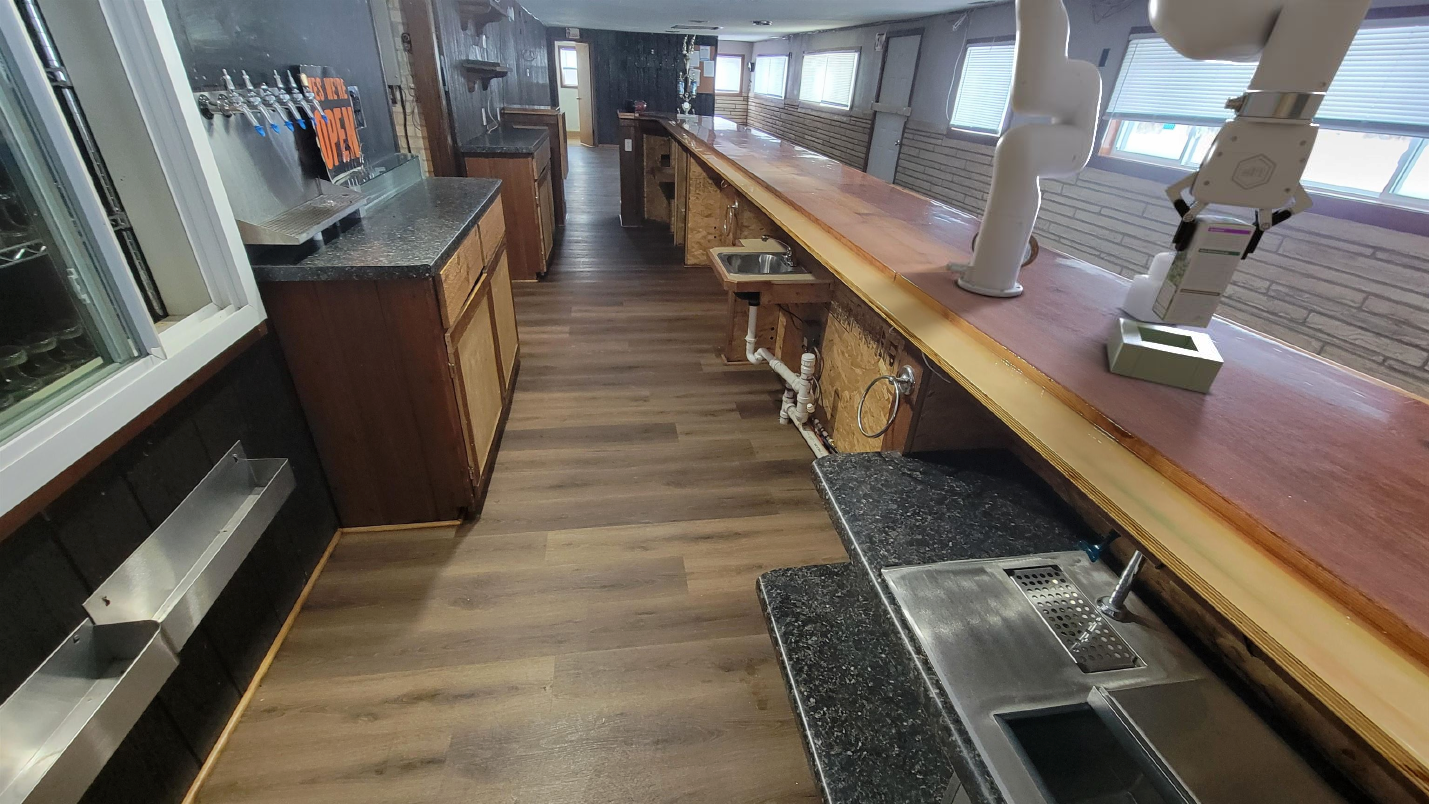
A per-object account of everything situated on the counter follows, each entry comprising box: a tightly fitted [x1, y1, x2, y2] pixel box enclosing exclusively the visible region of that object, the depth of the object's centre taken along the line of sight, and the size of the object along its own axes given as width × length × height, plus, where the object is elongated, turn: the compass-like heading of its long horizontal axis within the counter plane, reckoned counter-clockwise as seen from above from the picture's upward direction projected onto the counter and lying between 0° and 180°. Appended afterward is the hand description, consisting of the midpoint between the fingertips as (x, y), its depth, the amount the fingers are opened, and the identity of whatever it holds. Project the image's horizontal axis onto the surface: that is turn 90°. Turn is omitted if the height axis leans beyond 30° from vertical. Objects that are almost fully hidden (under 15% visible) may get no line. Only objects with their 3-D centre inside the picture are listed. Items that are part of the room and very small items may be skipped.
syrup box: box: [1152, 214, 1256, 329], centre depth 80 cm, size 6×6×14 cm
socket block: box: [1106, 317, 1225, 394], centre depth 87 cm, size 12×12×5 cm
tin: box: [971, 231, 1040, 269], centre depth 135 cm, size 15×3×8 cm, turn 43°
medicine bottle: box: [1120, 251, 1177, 325], centre depth 106 cm, size 7×7×12 cm
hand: (1208, 252), depth 79 cm, fingers closed on syrup box, 6 cm apart
